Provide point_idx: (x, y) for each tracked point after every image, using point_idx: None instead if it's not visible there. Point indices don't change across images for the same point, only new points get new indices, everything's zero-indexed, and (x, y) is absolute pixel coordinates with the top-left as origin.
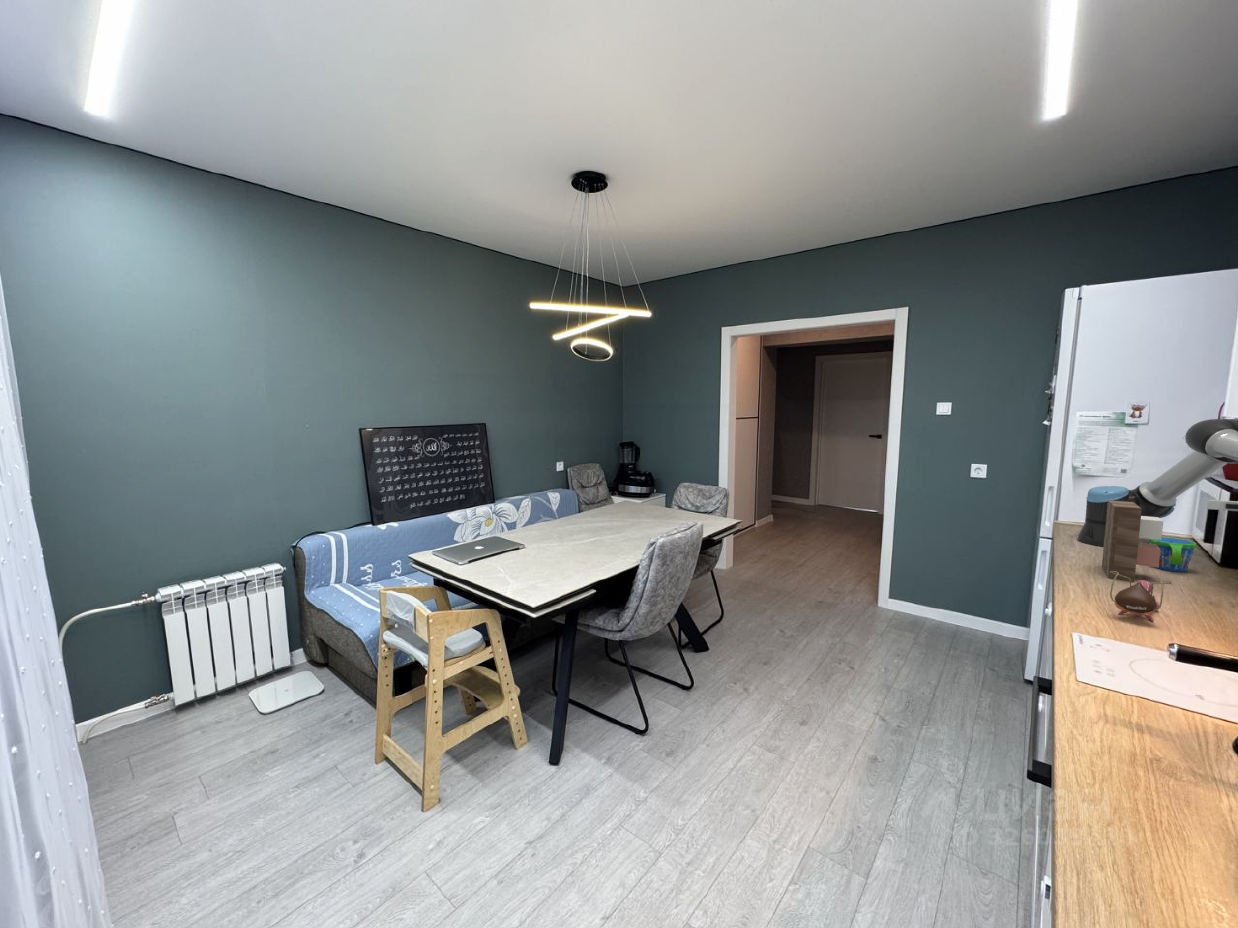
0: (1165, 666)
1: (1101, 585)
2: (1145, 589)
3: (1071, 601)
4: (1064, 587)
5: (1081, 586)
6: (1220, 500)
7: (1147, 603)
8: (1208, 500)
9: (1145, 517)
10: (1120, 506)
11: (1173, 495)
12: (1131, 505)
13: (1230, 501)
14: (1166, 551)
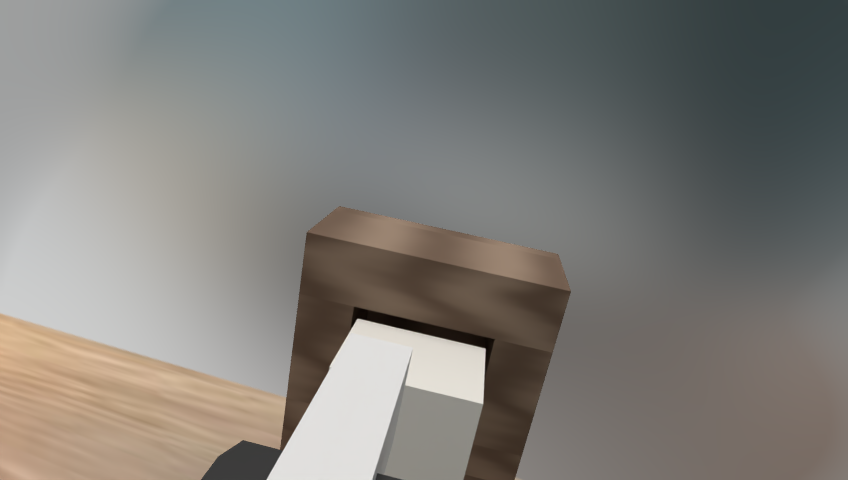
0: None
1: (195, 447)
2: None
3: (32, 336)
4: (161, 365)
5: (176, 399)
6: (383, 413)
7: None
8: (368, 342)
9: (434, 354)
10: (349, 215)
11: None
12: (406, 244)
13: (293, 461)
14: None
